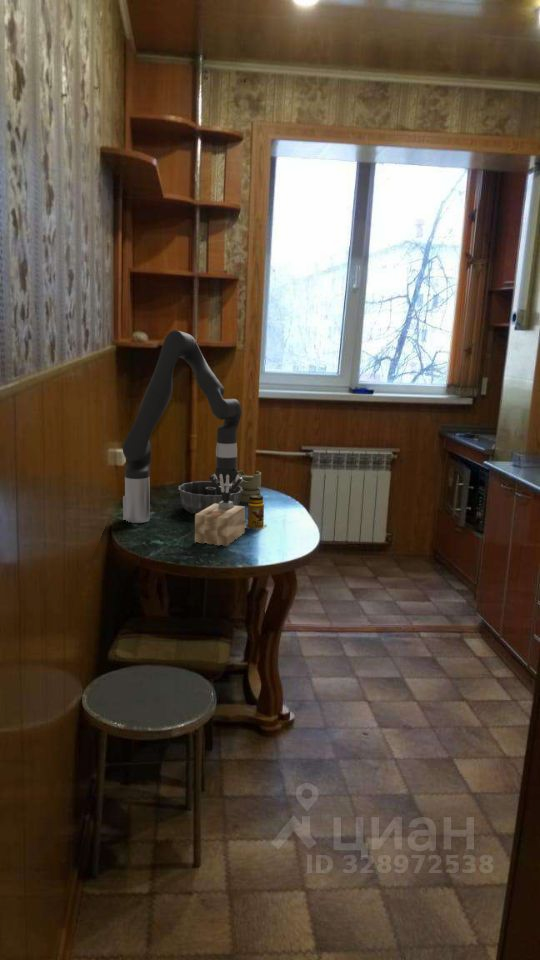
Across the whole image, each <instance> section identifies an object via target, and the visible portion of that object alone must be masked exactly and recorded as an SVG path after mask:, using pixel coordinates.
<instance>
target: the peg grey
mask: <svg viewBox="0 0 540 960" xmlns="http://www.w3.org/2000/svg"><path fill="white" fill-rule="evenodd" d="M219 508H220V509H229V510H230V509H231V508H233V501H229V502H228V503H225V502H223V501H221V502H219Z"/></svg>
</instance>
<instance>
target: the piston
mask: <svg viewBox="0 0 540 960" xmlns="http://www.w3.org/2000/svg"><path fill="white" fill-rule="evenodd" d="M237 472H238V475H239V476H240V477H241V478H243V479H244V480H243V481H242V482H241V484H240V485H239V486H240V487H242V490H243V492H242V494H241V499H240V501H242V502H241V503H249V499H250V498H249V497H250V496H251V495H261V492H262V490H261V486H262V472H261V471H259V470H256V471H255V473H254V474H253V475H247V474H246V473H245V472H244V470H237ZM235 483H236V478H235V480H234V484H235ZM261 496H262V495H261Z"/></svg>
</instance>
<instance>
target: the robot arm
mask: <svg viewBox="0 0 540 960" xmlns="http://www.w3.org/2000/svg"><path fill="white" fill-rule="evenodd" d="M158 356H159V357H158V360H157V363H156V365H155V368H154V371H153V374H152V376H151V378H150V381H149V383H148V386H147V388H146V390H145V393H144V394H143V398H142V400H141V403H140V404H139V409H138V412H137V414H136V417H135V421H134V423H133V424H132V427H131V429H130V431H129V433H128V435H127V436H126V438H125V440H124V442H123V445H122V453H123V455H124V457H125V459H126V466H125V469H124V495H123V496H122V513H123V516H122V519H123V520H126V521H125V522H127V521H128V522H127V523H130V522H131V524H141V523H147V522H149V521H150V517H151V516H150V515H151V513H150V511H151V509H150V508H151V506H150V505H151V504H150V498H151V497H150V494H151V493H150V492H151V491H150V485H151V484H150V471H151V463H152V462H151V461H152V460H151V459H152V448H151V447H152V446H151V442H150V438H151V436H152V433H153V430H154V429H155V427H156V426H157V424H158V422H159V421H160V419H161V418H162V416H163V415H164V412H165V411H166V409H167V407H168V406H169V402H170V400H171V399H172V395H173V390H174V389H173V386H174V385H173V384H174V383H173V381H174V380H173V374H174V369H175V366H176V364H177V361H178V359H179V358H180V359H183V361H185V362H186V363H187V364H188V365H189V366H190V368H191V370H192V371H193V373H194V377H195V380H196V383H197V385H198V387H199V389H200V390H201V391H202V393H203V394H204V395H205V397H206V398H207V402H208V404H209V407H210V410H211V413H212V415H213V416H214V417H216V418H217V419H218V420H222V421H223V420H224V421H223V424H222V425H220V426H218V428H217V430H216V446H215V447H216V448H215V471H214V473H213V474H212V475H210V476H209V481H211V482H212V483H213V484H214V486H215V487H216V489H217V490H220V491H221V492H222V501H223V502H225V503H228V502H229V501H230V499H231V492H232V491H234V490H236V488H237V487H238V486H239V485H240V484H241V482H242V481H243V480H244V479H243V478H241V477H240V476H239V475H238V472H237V471H238V446H237V445H238V444H237V443H238V437H237V436H238V434H237V433H238V429H239V424H240V421H241V417H242V406H241V404H240V403H241V402H239V400H237V399H236V398H224V397H223V396H224V394H225V390H226V389H225V388H224V386H223V384H222V383H221V382H220V380H219V379H218V377H217V376H216V375H215V373H214V371H212V369H211V367H210V365H209V364H208V363H207V360H206V359H205V357H204V355H203V353H202V351H201V349H200V347H199V345H198V343H197V340H196V339H195V338H194V336H193V335H191V334H190V333H187V332H184V331H181V330H177V329H175V330H170V331H169V333H167V335H166V336H165V338H164V340H163V343H162V347H161V350H160V352H159V355H158ZM235 478H236V483H235ZM219 482H220V483H219ZM233 482H234V483H233ZM232 484H234V485H233V487H232V488H231V486H232Z"/></svg>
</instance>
